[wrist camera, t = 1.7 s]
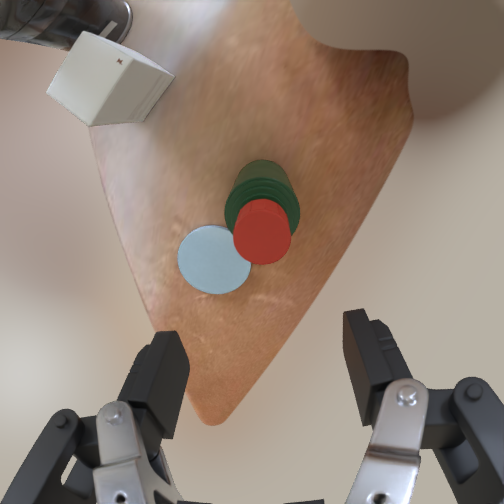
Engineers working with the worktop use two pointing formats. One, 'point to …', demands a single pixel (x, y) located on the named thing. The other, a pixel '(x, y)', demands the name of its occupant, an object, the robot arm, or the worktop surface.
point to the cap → (262, 232)
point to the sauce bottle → (262, 192)
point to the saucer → (212, 260)
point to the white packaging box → (107, 82)
